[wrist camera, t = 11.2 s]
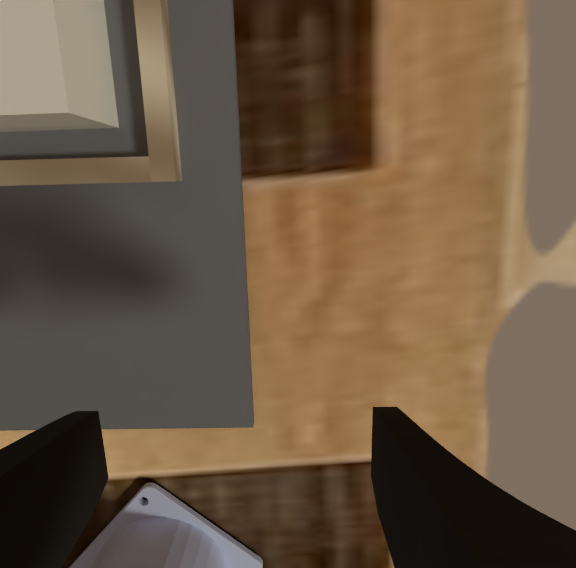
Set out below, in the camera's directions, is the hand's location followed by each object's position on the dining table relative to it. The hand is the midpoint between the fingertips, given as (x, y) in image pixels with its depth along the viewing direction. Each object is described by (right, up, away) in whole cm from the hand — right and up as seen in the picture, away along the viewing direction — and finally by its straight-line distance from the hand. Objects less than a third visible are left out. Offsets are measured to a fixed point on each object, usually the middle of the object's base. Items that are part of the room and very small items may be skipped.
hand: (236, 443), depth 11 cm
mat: (-8, +10, +7) cm, 15 cm away
